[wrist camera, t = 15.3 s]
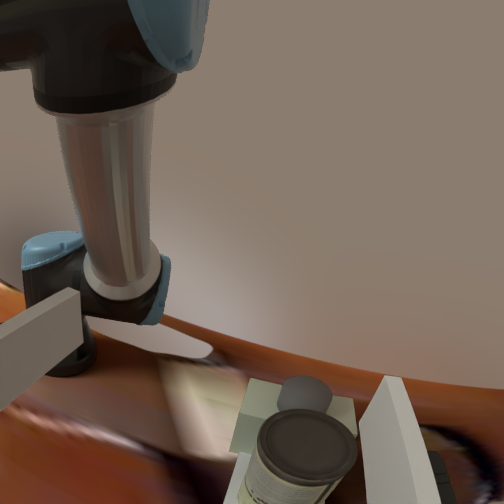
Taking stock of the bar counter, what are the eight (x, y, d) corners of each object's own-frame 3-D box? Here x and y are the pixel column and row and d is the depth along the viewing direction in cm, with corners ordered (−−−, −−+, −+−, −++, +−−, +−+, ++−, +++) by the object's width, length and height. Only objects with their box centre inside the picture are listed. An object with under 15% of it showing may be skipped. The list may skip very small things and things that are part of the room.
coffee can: (242, 467, 34) (264, 400, 30) (314, 478, 33) (353, 414, 29) (228, 525, 24) (250, 472, 20) (312, 536, 23) (363, 484, 19)
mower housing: (332, 540, 22) (377, 501, 19) (204, 520, 24) (214, 478, 21) (333, 435, 43) (359, 383, 40) (240, 417, 45) (254, 362, 42)
